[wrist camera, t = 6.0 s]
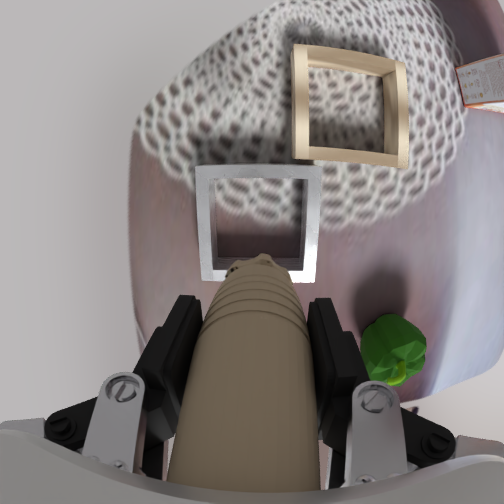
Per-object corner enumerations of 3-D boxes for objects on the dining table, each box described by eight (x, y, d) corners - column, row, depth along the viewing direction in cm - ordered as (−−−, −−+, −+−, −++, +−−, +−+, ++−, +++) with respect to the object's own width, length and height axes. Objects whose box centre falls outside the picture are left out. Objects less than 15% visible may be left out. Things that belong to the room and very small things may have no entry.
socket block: (203, 164, 27) (195, 166, 24) (314, 164, 26) (321, 166, 23) (208, 266, 31) (201, 280, 28) (309, 267, 30) (314, 281, 27)
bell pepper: (417, 309, 32) (451, 354, 23) (390, 354, 35) (413, 402, 26) (370, 298, 32) (400, 348, 22) (343, 348, 34) (361, 402, 25)
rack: (290, 55, 22) (293, 43, 19) (391, 70, 22) (404, 62, 19) (291, 158, 26) (295, 158, 23) (392, 166, 26) (407, 169, 23)
